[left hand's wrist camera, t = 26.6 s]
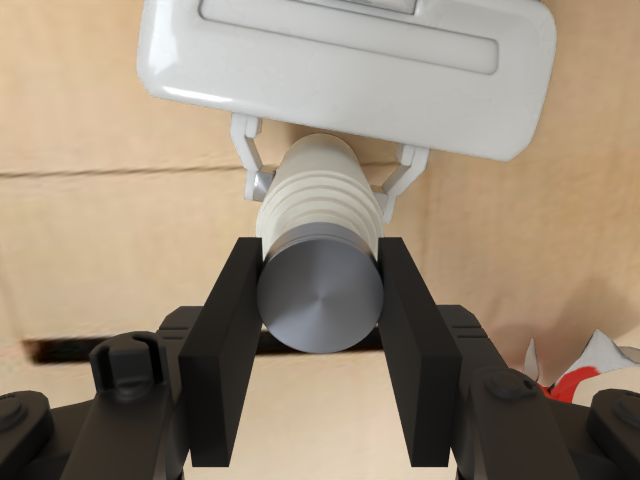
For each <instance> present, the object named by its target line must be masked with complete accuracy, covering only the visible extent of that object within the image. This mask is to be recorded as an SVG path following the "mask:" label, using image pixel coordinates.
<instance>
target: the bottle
mask: <svg viewBox="0 0 640 480" xmlns="http://www.w3.org/2000/svg"><path fill="white" fill-rule="evenodd" d="M313 222H327V223H334V224H338V225H341V226H343V227H346V228H348V229H350V230H352V231H353V232H355V233H356V234H358V235H359V236H360V237H361V238H362V239H363V240H364V241H365V242H366V243H367V244H368V245H369V247H370V248H371V250H372V252H373V254H374V256H375V258H376V261H377V253H378V237H384V232H385V227H384V219H383V215H382V212H381V209H380V207H379V205H378V202H377V200H376V198H375V196H374V194H373V192H372V190H371V188H370V185H369V183H368V181H367V179H366V177H365V175H364V173H363V170H362V168H361V166H360V164H359V162H358V160H357V158H356V156H355V154H354V152H353V150H352V149H351V148H350V147H349V145H347V144H346V143H345V142H344V141H343V140H341V139H340V138H338V137H336V136H333V135H330V134H324V133H316V134H310V135H307V136H305V137H302V138H300V139H299V140H297V141H296V142H295V143H294V144H292V146H291V147H290V148H289V149H288V151H287V152H286V154H285V156H284V158H283V160H282V162H281V164H280V166H279V169H278V171H277V173H276V175H275V177H274V179H273V181H272V184H271V186H270V188H269V190H268V192H267V194H266V196H265V199H264V201H263V203H262V205H261V207H260V210H259V213H258V216H257V221H256V237H262V248H263V261H264V259H265V256H266V254H267V252H268V250H269V249H270V247H271V246H272V244H273V243H274V242H275V241H276V240H277V239H278V238H279V237H280V236H281V235H283V234H284V233H285V232H287V231H289V230H290V229H292V228H294V227H297V226H299V225H303V224H307V223H313Z"/></svg>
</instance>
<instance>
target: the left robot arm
mask: <svg viewBox="0 0 640 480" xmlns="http://www.w3.org/2000/svg"><path fill="white" fill-rule="evenodd" d="M377 264H378V267H379V271H380V274H381V277H382V280H383V285H384V297H383V311H382V313H381V316H380V318H379V320H378V322H377V323H378V327H379V331H380V335H381V339H382V344H383V348H384V352H385V356H386V361H387V365H388V369H389V373H390V378H391V382H392V386H393V390H394V395H395V399H396V403H397V407H398V412H399V416H400V420H401V424H402V429H403V433H404V437H405V441H406V446H407V450H408V454H409V458H410V463H411V467H448V462H449V455H450V447H451V449H452V452H453V454H454V457H455V460H456V463H457V472H456V479H455V480H640V394H639V393H636V392H632V391H628V390H621V389H606V390H601V391H599V392H598V393H596V394H595V395H594V396H593V399H592V403H591V406H590V407H586V406H581V405H576V404H572V403H567V402H562V401H558V400H554V399H551V398H547V397H545V395H544V392H543V391H542V389H541V388H540V386H539V385H538V384H537V382H535V381H534V380H532V379H531V378H530V377H528V376H527V375H525V374H523V373H521V372H519V371H516V370H514V369H510V368H508V366H507V364H506V363H505V361H504V360H503V358H502V357H501V355H500V354H499V352H498V351H497V349H496V348H495V346H494V345H493V343H492V342H491V340H490V338H488V335H487V334H486V332H485V331H484V329H483V328H481V325H480V323H479V322H478V320H477V319H476V317H475V316H474V314H472V313H471V312H469V311H468V310H466V309H465V308H464V307H462V306H461V305H436V304H435V302H434V300H433V298H432V296H431V294H430V292H429V290H428V288H427V286H426V284H425V282H424V281H423V279H422V277H421V275H420V273H419V271H418V269H417V267H416V265H415V263H414V261H413V259H412V257H411V255H410V253H409V251H408V249H407V247H406V246H405V244H404V242H403V240H402V238H401V237H378V253H377ZM262 265H263V248H262V237H239V238H238V240H237V242H236V244H235V246H234V248H233V250H232V252H231V254H230V256H229V258H228V260H227V262H226V264H225V266H224V267H223V269H222V271H221V273H220V275H219V277H218V279H217V281H216V283H215V285H214V287H213V289H212V291H211V293H210V295H209V297H208V299H207V301H206V303H205V304H204V306H180V307H179V308H177V309H176V310H175V311H173V312H172V313H170V314H169V315H167V316H166V318H165V319H164V321H163V322H162V324H161V325H160V327H159V330H157V332H156V333H152V332H148V331H134V332H129V333H124V334H119V335H117V336H114V337H112V338H109V339H107V340H105V341H103V342H102V343H100V344H99V345H97V346H96V347H95V348H94V349H93V350H92V351H91V353H90V354H89V359H90V363H91V368H92V372H93V377H94V382H95V386H96V391H97V393H96V395H95V398H94V399H93V400H89V401H85V402H82V403H77V404H73V405H68V406H63V407H59V408H54V409H50V405H49V401H48V398H47V397H46V396H45V395H43V394H42V393H41V392H35V391H19V392H13V393H8V394H5V395H2V396H0V480H185V479H184V472H183V466H184V463H185V460H186V457H187V455H188V452H189V449H190V452H191V460H192V467H229V464H230V460H231V455H232V451H233V447H234V443H235V438H236V434H237V430H238V426H239V421H240V417H241V413H242V409H243V404H244V400H245V396H246V392H247V387H248V383H249V379H250V375H251V370H252V366H253V362H254V358H255V353H256V349H257V345H258V341H259V336H260V332H261V328H262V324H263V322H262V320H261V318H260V315H259V313H258V309H257V292H256V286H257V282H258V278H259V275H260V271H261V268H262Z"/></svg>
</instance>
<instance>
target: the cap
mask: <svg viewBox="0 0 640 480" xmlns="http://www.w3.org/2000/svg"><path fill="white" fill-rule="evenodd" d="M256 292H257V309H258V313H259V315H260V318H261V320H262V322H263V323H264V325H265V326H266V328H267V329H268V330H269V331H270V332H271V334H272V335H273V336H275V337H276V338H277V339H278V340H279V341H281V342H282V343H284V344H286V345H288V346H290V347H292V348H294V349H297V350H300V351H304V352H309V353H332V352H336V351H340V350H343V349H346V348H348V347H351V346H353V345H355V344H356V343H358V342H359V341H361V340H362V339H363V338H364V337H366V336H367V335H368V334H369V333H370V332H371V331H372V329H373V328H374V327H375V325H376V324H377V322H378V320H379V318H380V316H381V313H382V311H383V297H384V285H383V280H382V277H381V274H380V271H379V267H378V264H377V261H376V258H375V256H374V254H373V252H372V250H371V248H370V247H369V245H368V244H367V243H366V242H365V241H364V240H363V239H362V238H361V237H360V236H359V235H358V234H356V233H355V232H353V231H352V230H350V229H348V228H346V227H343V226H341V225H338V224H334V223H327V222H313V223H307V224H303V225H299V226H297V227H294V228H292V229H290V230H289V231H287V232H285V233H284V234H283V235H281V236H280V237H279V238H278V239H277V240H276V241H275V242H274V243H273V244H272V246H271V247H270V249H269V250H268V252H267V254H266V256H265V259H264V262H263V265H262V268H261V271H260V275H259V278H258V282H257V286H256Z"/></svg>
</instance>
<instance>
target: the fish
mask: <svg viewBox="0 0 640 480" xmlns="http://www.w3.org/2000/svg"><path fill="white" fill-rule="evenodd" d="M633 366H640V349H636V348H632V347H617V345H616V344H615V343H614V342H613V341H612V340H611V339H610V338H609V337H607V336H606V335H605V334H604V333H602V332H601V331H600V330H599V329H596V330H595V332H594V333H593V335H592V337H591V338H590V340H589V341H588V343H587V345H586V347H585V349H584V350H583V352H582V354H581V356H580V357H579V358H578V359H577V360H576V362H575V363H574V364H573V365H572V366H571V367H570V368H569V369H568V370H567V371H566V372H565V373H564V374H563V375H562V376H561V377H560V378H559V379H558V380H557V381H556V382H555V383H554V384H553V385H552V386H551V387H542V386H541V385H539V384H538V383H537V384H538V385H539V386H540V388H541V389H542V391H543V392H544V395H545V397H547V398H551V399H554V400H558V401H562V402H567V403H572V399H573V395H574V392H575V390H576V387H577V385H578V384H579V383H580V382H581V381H582V380H584V379H587V378H590V377H594V376H597V375H599V374H602V373H606V372H609V371H612V370H616V369H621V368H626V367H633ZM522 373H523V374H525V375H527V376H528V377H530V378H531V379H532V380H534V381H535V382H537V381H538V378H539V368H538V363H537V358H536V351H535V343H534V339H533V338H531V341H530V344H529V347H528V350H527V353H526V357H525V363H524V369H523V371H522Z"/></svg>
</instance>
